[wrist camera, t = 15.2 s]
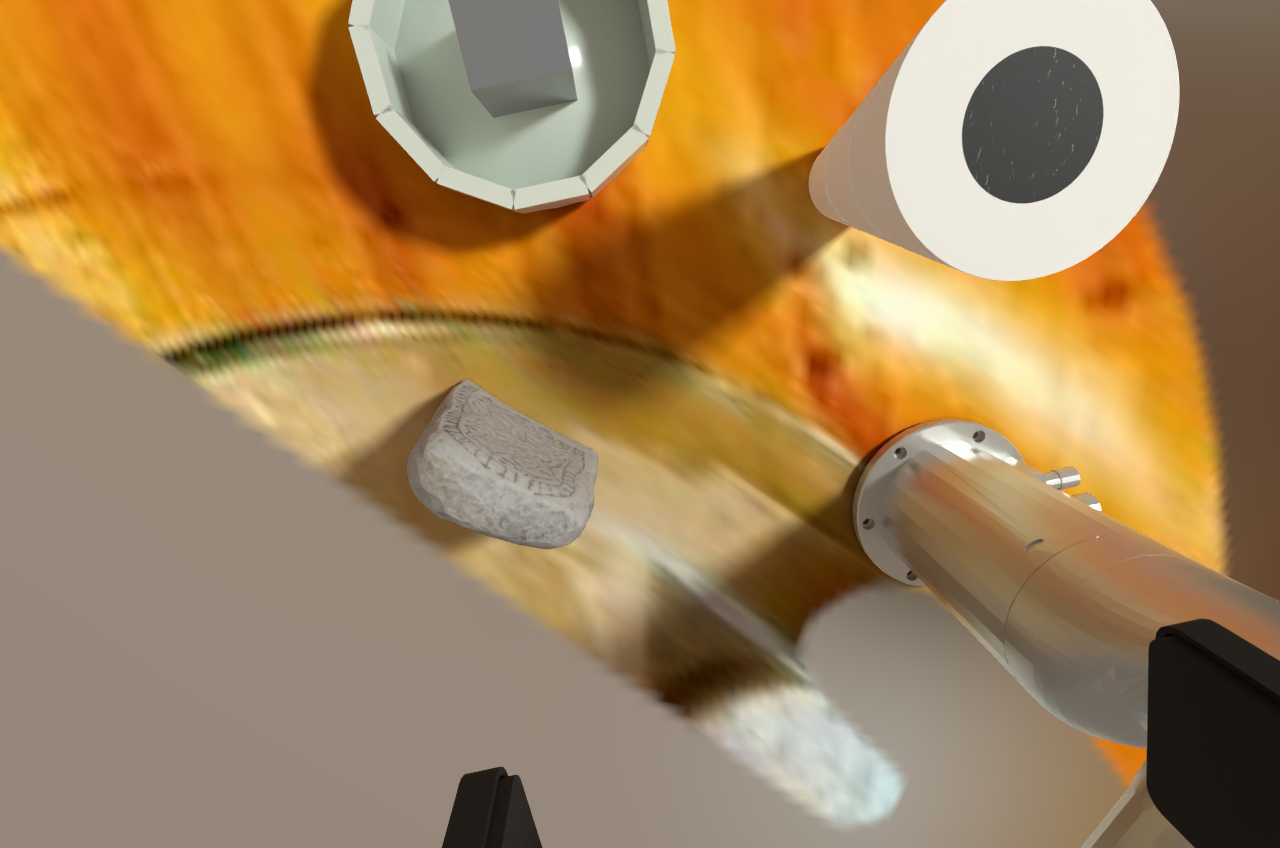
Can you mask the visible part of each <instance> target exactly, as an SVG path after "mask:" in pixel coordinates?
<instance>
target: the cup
mask: <svg viewBox="0 0 1280 848" xmlns="http://www.w3.org/2000/svg"><path fill="white" fill-rule="evenodd" d="M1178 108H1179V74H1178V66H1177V61H1176V56H1175V51H1174V48H1173V44H1172V41H1171V38H1170V35H1169V33H1168V31H1167V28H1166V26H1165V23H1164V21H1163V19H1162V18H1161V16H1160V14H1159V12H1158V10H1157V9H1156V8H1155V6H1154V5H1153V3H1152V2H1151V1H1150V0H947V1H945V2H944V3H943V4H942V5H941V6H940V8H939V9H938V10H937V11H936V12H935V13H934V14H933V15H932V16H931V18H930V19H929V20H928V21H927V22H926V24H925V25H924V26H923V27H922V29H921V30H920V31H919V32H918V34H917V35H916V36H915V37H914V38H913V40H912V41H911V42H910V43H909V45H908V46H907V47H906V48H905V49H904V51H903V52H902V53H901V54H900V56H899V57H898V58H897V59H896V60H895V62H894V63H893V64H892V65H891V67H890V68H889V69H888V70H887V72H886V73H885V74H884V75H883V76H882V78H881V79H880V80H879V82H878V83H877V84H876V86H875V87H874V88H873V89H872V90H871V92H870V93H869V94H868V95H867V97H866V98H865V99H864V101H863V102H862V103H861V104H860V106H859V107H858V108H857V109H856V111H855V112H854V113H853V114H852V116H851V117H850V118H849V119H848V121H847V122H846V123H845V124H844V125H843V127H842V128H841V129H840V130H839V131H838V132H837V134H836V135H835V136H834V137H833V138H832V140H831V141H830V142H829V143H828V144H827V146H826V147H825V148H824V149H823V150H822V152H821V153H820V154H819V155H818V157H817V158H816V160H815V161H814V163H813V165H812V168H811V170H810V174H809V182H808V185H809V193H810V197H811V200H812V202H813V204H814V205H815V207H816V208H817V210H818V211H819V212H820V213H822V214H823V215H824V216H826V217H827V218H829V219H832V220H834V221H837V222H840V223H842V224H845V225H847V226H850V227H853V228H855V229H858V230H860V231H864V232H866V233H868V234H871V235H873V236H876V237H878V238H880V239H883V240H885V241H888V242H890V243H893V244H895V245H897V246H900V247H902V248H904V249H907V250H909V251H912V252H914V253H917V254H919V255H922V256H924V257H927V258H929V259H932V260H934V261H937V262H939V263H942V264H944V265H947V266H949V267H952V268H954V269H957V270H959V271H962V272H965V273H967V274H970V275H973V276H976V277H981V278H985V279H991V280H1000V281H1019V280H1028V279H1034V278H1039V277H1043V276H1047V275H1050V274H1053V273H1056V272H1059V271H1062V270H1064V269H1066V268H1068V267H1071V266H1073V265H1075V264H1077V263H1079V262H1080V261H1082V260H1084V259H1086V258H1088V257H1089V256H1090V255H1092V254H1093V253H1095V252H1096V251H1098V250H1099V249H1101V248H1102V247H1103V246H1104V245H1106V244H1107V243H1108V242H1109V241H1110V240H1112V239H1113V238H1114V237H1115V236H1116V235H1117V234H1118V233H1119V232H1120V231H1121V230H1122V229H1123V228H1124V227H1125V226H1126V225H1127V224H1128V223H1129V221H1130V220H1131V219H1132V218H1133V217H1134V216H1135V215H1136V213H1137V212H1138V211H1139V209H1140V208H1141V206H1142V205H1143V204H1144V202H1145V201H1146V199H1147V198H1148V196H1149V194H1150V193H1151V191H1152V189H1153V188H1154V186H1155V184H1156V182H1157V180H1158V178H1159V176H1160V174H1161V172H1162V170H1163V167H1164V165H1165V162H1166V160H1167V157H1168V155H1169V151H1170V148H1171V145H1172V142H1173V138H1174V134H1175V129H1176V124H1177V117H1178Z"/></svg>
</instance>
